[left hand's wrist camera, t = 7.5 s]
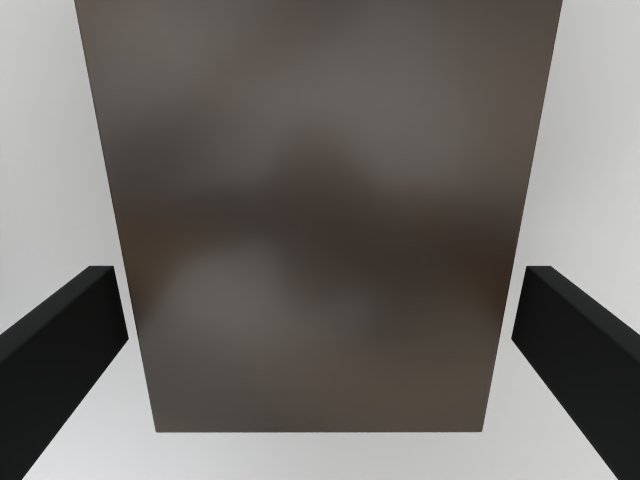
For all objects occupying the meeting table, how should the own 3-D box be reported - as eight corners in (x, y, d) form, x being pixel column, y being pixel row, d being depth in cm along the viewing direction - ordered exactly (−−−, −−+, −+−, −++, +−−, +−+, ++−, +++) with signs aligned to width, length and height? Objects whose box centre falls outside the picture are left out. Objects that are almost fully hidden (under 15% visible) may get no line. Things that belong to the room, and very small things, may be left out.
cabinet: (180, -38, 16) (40, -171, 8) (457, -38, 16) (595, -170, 8) (216, 306, 22) (155, 433, 14) (421, 306, 22) (482, 432, 14)
